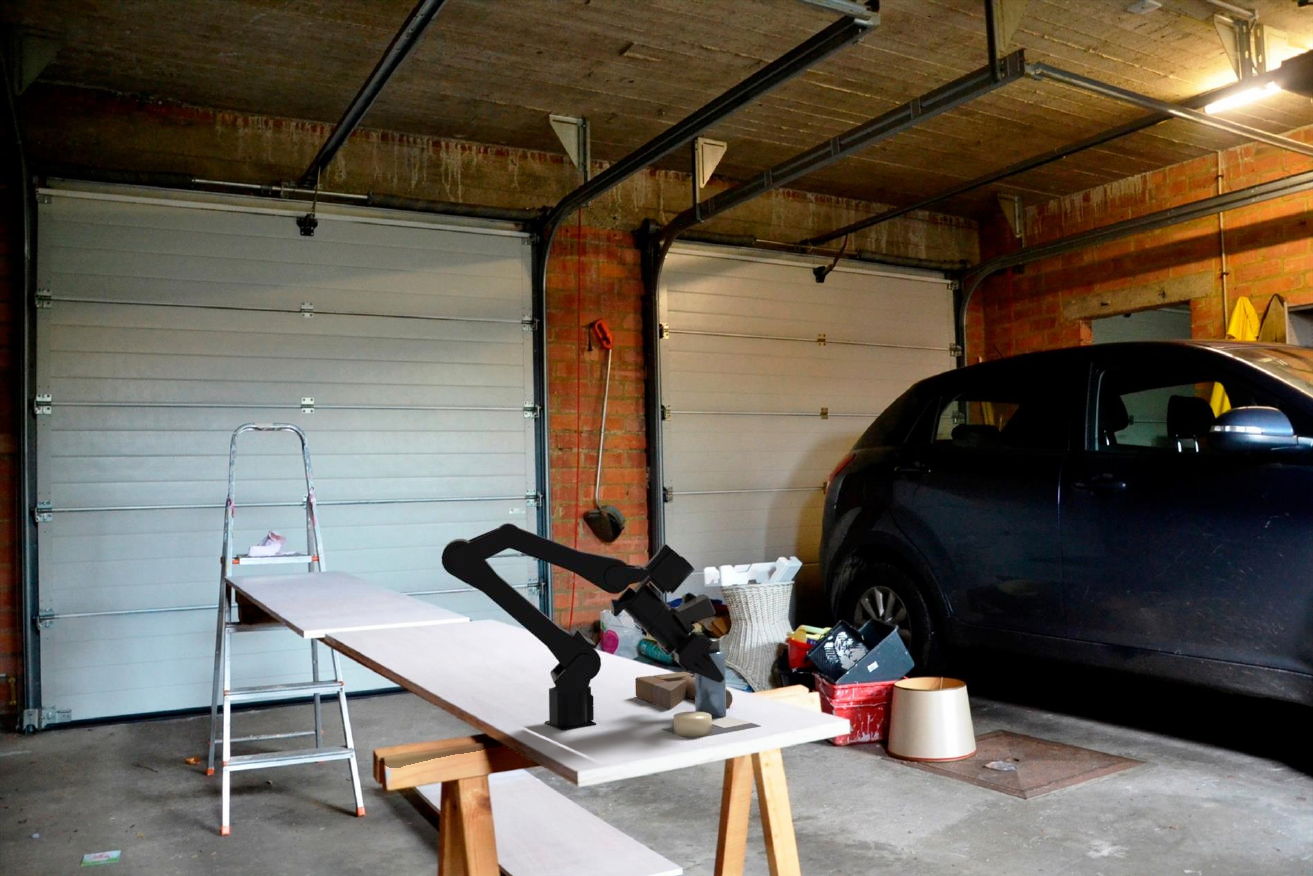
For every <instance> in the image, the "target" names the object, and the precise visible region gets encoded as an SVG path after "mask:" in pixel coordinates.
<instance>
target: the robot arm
mask: <svg viewBox="0 0 1313 876" xmlns="http://www.w3.org/2000/svg"><path fill="white" fill-rule="evenodd" d="M509 549H510V550H513V551H516V552H519V553H521V554H524V555H527V556H530V557H532V558H534V559H537V560H540V561H544V562H546V563H548V564H550V565H554V566H556V567H559V568H562V569H564V570H567V571H570V572H572V573H574V574H576V575H578V576H579V577H581V578H583V579H584V580H586V581H587V582H589V583H591V584H592V585H594V586H595V587H598V588H599V589H601V590H603V591H605V592H606V593H609V594H613V595H617V594H621V593H622V594H621V595H619V597H618V598H610V600H609V601H610V605H611V606H610V607H611V610H610V613H611V615H613V616H614V617H618V616H619V615H620V614H621V613H622V612H623V611H625V613H626V614H627V615H628V616H629V617H630V618H632V619H633V621H634V622H635V623H637V624H638V626H640V627H641V628H642V629H643V631H644V632H646V633H647V634H648V635H649V636H650V637H651V638H652V639H654V641H655V642H657V647H658V648H659V649H660V650H661V651H662V652H663V653H664V654H666V655H667V656H670V659H672V660H673V661H675V662H677V663H678V665H679V666H681V668H682V669H684V670H685V672H689V671H690V672H692V673H693V674H695V673H696V674H699V675H702V676H704V677H707V678H709V679H712V680H714V681H717V682H719V683H721V682H722V681H723V680H724V676H723V675H722V673H721V672H720V670H719V669H718V667H717V666H716V664H715V663H714V661H713V659H712V658H711V656H710V655H709V647H710V646H711V645H712V643H713V642H712V641H711V640H710V639H709V637H708V636H707V635H706V634H705V633H703V632H701V631H694V630H695V629H696V627H695V626H694V625H696V624H697V623H699V622H702V621H703V620H704V619H706V618H708V617H709V618H711V617H712V616H714V615H716V613H717V612H716V610H715V607H714V605H713V604H712V602H711V599H710V598H709V596H708V595H706V594H705V593H704V594H703V593H702V594H698V595H697V596H696V595H694V594H693V593H692V592H690V591H689V592H687V593H685V594H683V595H682V596H681V598H682V599H681V604H679V606H676V607H674V606H671V605H670V604H668V603H667V602H666V601H664V599H662V598H661V597H660V595H658V593H656V592H655V591H654V590H653V589H652V588H651V587H650V586H649V585H648V584H649V583H650V584H651V585H652V586H653V587H654V588H655V589H656V590H658V592H659V593H661V594H662V595H663V596H665V594H666V593H667V594H669V593H670V594H671V595H673V594H674V593H675V592H676V591H677V590H678V588H680V587H681V585H682V584H683V583H684V582H685V581H686V580H687V579H688V578H689V577H690V575H692V573H694V571H695V568H694V567H693V566H692V564H691V563H690V562H689V561H688V560H687V559H686V558H685V557H683V556H682V555H680V554H678V552H676V551H675V550H673V548H671V547H670V546H669V545H668V544H666V543H663V544H662V545H661V546H660V547H659V548H658V550H657V551H656V553H655V554H654V555H653V556H652V557H651V558H650V559H649V560H648V561H647V562H646V564H645V565H644V566H641V565H640V564H635V565H633V564H628V563H627V562H625V561H624V560H622V559H620V558H618V557H615V556H610V555H606V554H600V553H595V552H594V553H593V552H588V551H581V550H578V549H575V548H572V547H570V546H568V545H565V544H563V543H560V542H557V541H554V540H552V539H550V538H546V537H543V536H541V535H538V534H536V533H533V532H531V531H528V530H525V529H523V528H520V527H518V526H517V525H515V524H513V523H510V522H507V523H502V524H500V525H499V527H496V528H494V529H491V530H489V531H487V532H484V533H483V534H480V535H477V536H475V537H473V538H471V539H465V538H455V539H453V540H451V541H449V542H448V543H447V544H446V546H445V547H444V549H443V550H442V555H441V564H442V566H443V569H444V570H445V571H446V572H447V573H448V574H450V575H451V576H453V577H454V578H456V579H458V580H459V581H461V582H463V583H465V584H466V585H469V586H471V587H473V588H475V589H476V590H478V591H480V592H481V593H483V594H485V596H487V597H488V598H489V599H490V600H491V601H492V602H494V603H495V604H496V605H498V606H499V607H500V608H501V609H502V610H503V611H505V612H506V613H507V614H508V615H509V616H510V617H512V618H513V619H514V620H515V621H517V622H518V623H519V625H521V626H522V627H523V628H525V629H526V631H528V632H529V633H530V634H531V635H532V636H534V637H535V638H536V639H537V640H539V641H540V642H541V643H542V644H543V645H545V646H546V648H547V649H548V650H549V651H550V652H551V654H552V655H553V656H554V658H555V659H556V661H558V663H557V664H556V665H555V666H554V668H553V669H551V670H550V676H551V679H552V682H553V684H554V686H553V687H551V688H548V716H549V717H548V720H545V721H544V724H545V725H548V726H550V727H552V728H555V729H556V730H559V731H568V730H575V729H580V728H581V729H582V728H587V727H592V726H597V722H595V721H594V719H595V718H594V708H595V707H594V704H595V703H594V695H593V694H592V686H590V684H591V681H592V679H594V678H595V677H596V676H597V675H598V674H599V672H600V670H601V666H602V661H601V660H602V659H601V656H600V654H599V652H598V651H597V650H596V649H595V648H597V644H596V643H595V642H594V641H593V639H591V638H588V637H586V636H585V635H584V634H582V632H581V631H580V630H579V629H578V628H577V626H576V625H573V626H572V628H571V630H570V631H569V630H567V629H564V628H563V627H561V626H560V625H558V624H557V623H556V622H555V621H553V620H552V619H551V618H549V617H548V616H547V615H546V614H545V613H544V612H543V611H542V610H540V609H539V608H538V607H536V605H535V604H533V603H532V602H531V601H530V600H529V599H527V598H526V597H525V596H524V595H522V594H521V593H520V592H519V591H518V590H517V589H515V587H513V586H512V585H511V584H510V583H508V582H507V580H505V579H504V578H503V577H501V575H499V574H498V573H497V572H496V571H495V569H494V568H493V566H492V565H491V564H490V563H489V562H488V560H487V559H489V558H492V557H494V556H495V555H498V554H499V553H501V552H503V551H505V550H509ZM637 583H638V584H637ZM634 584H636V586H635V587H633V588H632V587H630V585H634Z"/></svg>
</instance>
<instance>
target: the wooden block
mask: <svg viewBox="0 0 1313 876" xmlns="http://www.w3.org/2000/svg"><path fill="white" fill-rule="evenodd" d="M635 697H637V698H640V699H642V700H644V701H646V702H648V703H651V704H653V705H656V706H657V705H659V706H661V707H663V708H666V709H668V710H672V709H674V708H675V707H677V706H678V705H680V704H681V703H683V702H684V701H687V699H688V698H690V699H693V700H695V674H694V673H690V672H688V671H681V672H680V671H678V672H673V673H672V672H671V673H663V674H655V675H647V676H640V677H639V676H638V677H636V678H635ZM733 699H734V698H733V695H732V693H731V691H730V690H728V689H727V688H726V709H727V708H730V707H731V706H732V703H733Z"/></svg>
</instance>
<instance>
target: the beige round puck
mask: <svg viewBox="0 0 1313 876" xmlns="http://www.w3.org/2000/svg"><path fill="white" fill-rule="evenodd" d="M712 720H713V719H712V716H711V714H709V713H705V712H695V711H681V712H677V713H675V714H674V715H673V727H674V733H675V734H674V735H676V734H677V735H676V736H678V735H680V736H679V737H681V736H690V737H695V736H704V735H708V734H710V733H712Z"/></svg>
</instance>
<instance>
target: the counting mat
mask: <svg viewBox="0 0 1313 876" xmlns="http://www.w3.org/2000/svg"><path fill="white" fill-rule="evenodd" d="M759 727H761V725H760V724H757V723H753V722H749V721H747V720H743V719H741V718H737V717H734V716H726V717H723V718H719V719H712V733H710V734H708V735H704V736H695V737H690V736H680V735H677V734H675V733H674V726H671V727H665V728H661V730H662V731H664V732H668V733H669V734H670V733H671V734H673V735H676V736H678V737H682V738H684V739H687V740H695V739H700V738H705V737H711V736H716V735H723V734H728V733H732V732H733V733H734V732H739V731H744V730H748V729H754V728H759Z"/></svg>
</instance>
